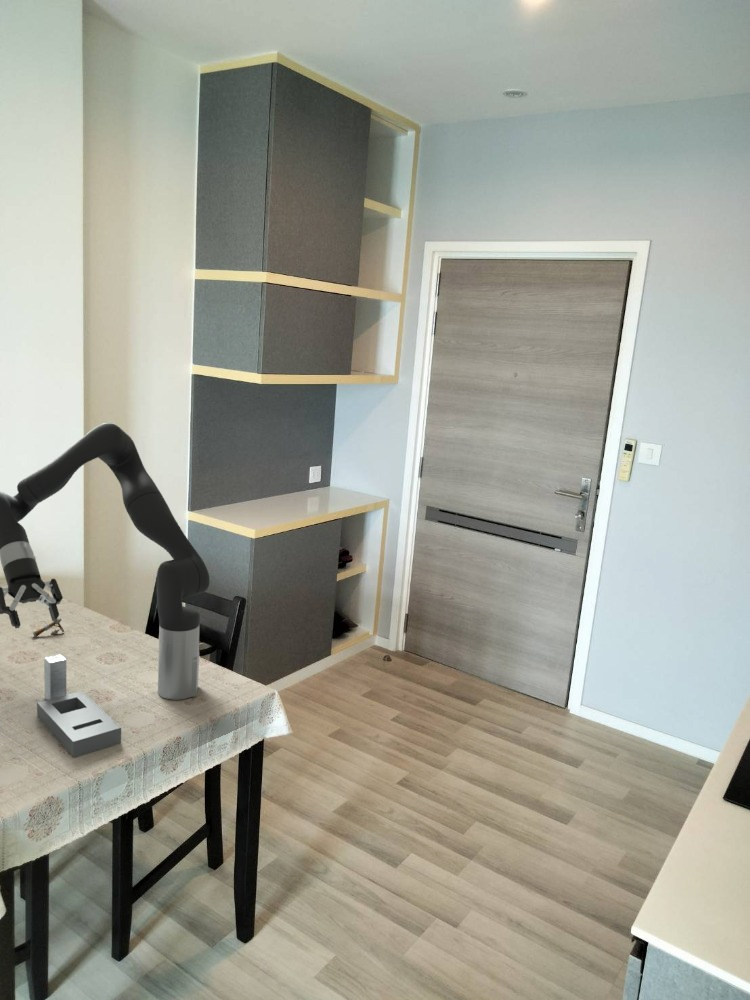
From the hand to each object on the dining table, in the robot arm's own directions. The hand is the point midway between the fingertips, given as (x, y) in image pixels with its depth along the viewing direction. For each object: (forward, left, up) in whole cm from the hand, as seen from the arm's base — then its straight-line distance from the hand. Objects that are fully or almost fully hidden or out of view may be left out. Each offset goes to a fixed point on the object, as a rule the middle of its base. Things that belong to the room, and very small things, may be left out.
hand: (36, 623), depth 180 cm
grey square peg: (-6, +9, -15) cm, 19 cm away
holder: (-14, +23, -15) cm, 31 cm away
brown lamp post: (+5, -28, -15) cm, 32 cm away
